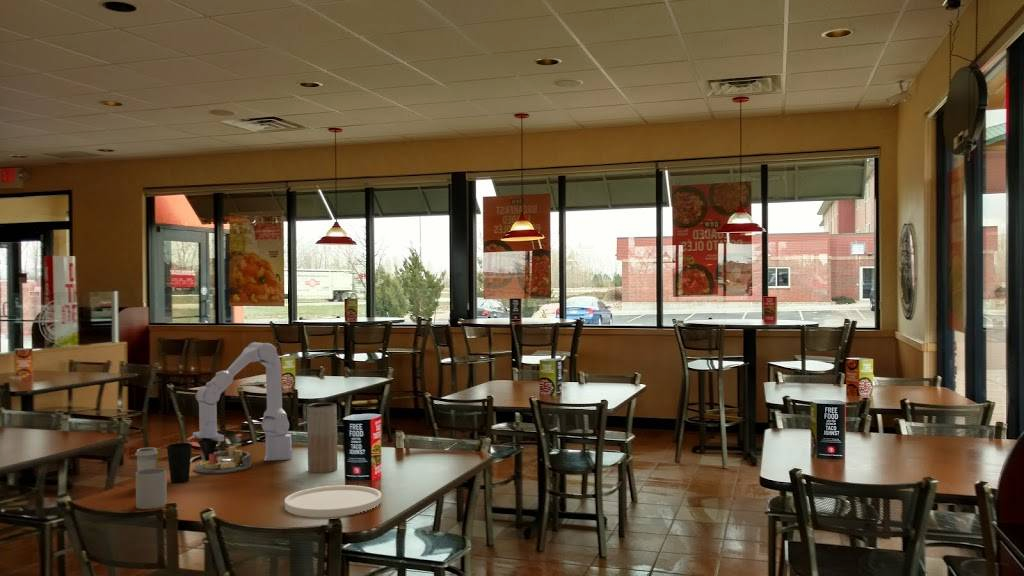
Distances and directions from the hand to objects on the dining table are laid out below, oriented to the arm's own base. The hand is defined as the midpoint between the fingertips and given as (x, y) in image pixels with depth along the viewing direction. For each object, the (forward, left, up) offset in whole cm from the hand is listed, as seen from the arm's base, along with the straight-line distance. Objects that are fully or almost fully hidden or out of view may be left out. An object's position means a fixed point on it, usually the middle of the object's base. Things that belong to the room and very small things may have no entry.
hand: (208, 460), depth 292 cm
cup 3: (+7, +14, -4) cm, 16 cm away
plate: (-44, +55, -4) cm, 70 cm away
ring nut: (-4, -4, -3) cm, 7 cm away
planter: (-39, +8, -4) cm, 40 cm away
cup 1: (+16, +19, -4) cm, 25 cm away
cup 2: (+9, +44, -4) cm, 45 cm away
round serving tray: (-4, -4, -4) cm, 7 cm away
